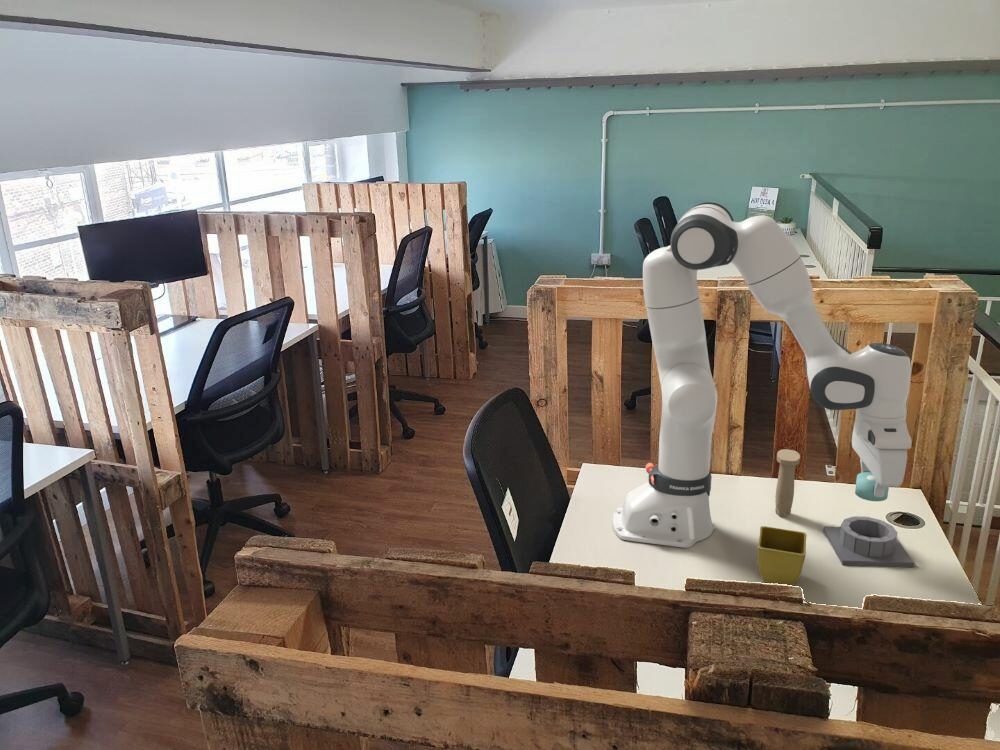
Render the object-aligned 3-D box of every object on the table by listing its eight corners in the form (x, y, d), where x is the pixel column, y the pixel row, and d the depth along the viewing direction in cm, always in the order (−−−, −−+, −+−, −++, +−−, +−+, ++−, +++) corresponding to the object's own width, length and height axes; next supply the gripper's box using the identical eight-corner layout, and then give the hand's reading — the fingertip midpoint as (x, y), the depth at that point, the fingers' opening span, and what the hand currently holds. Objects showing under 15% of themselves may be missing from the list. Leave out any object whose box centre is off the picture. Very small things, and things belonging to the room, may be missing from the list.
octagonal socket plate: (842, 564, 158) (844, 545, 157) (822, 530, 172) (824, 511, 170) (914, 566, 157) (917, 547, 155) (888, 531, 170) (891, 513, 169)
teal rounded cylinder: (860, 501, 155) (862, 484, 154) (851, 487, 161) (853, 471, 159) (891, 501, 154) (894, 484, 153) (881, 488, 160) (883, 471, 159)
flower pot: (801, 595, 149) (805, 554, 146) (754, 587, 152) (757, 547, 149) (802, 571, 157) (806, 532, 154) (757, 563, 160) (760, 525, 157)
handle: (771, 519, 177) (776, 459, 172) (772, 506, 183) (777, 448, 178) (793, 522, 175) (800, 462, 171) (793, 509, 181) (799, 450, 176)
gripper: (847, 405, 163) (841, 465, 167) (879, 444, 144) (871, 510, 148) (878, 405, 162) (871, 465, 166) (915, 444, 143) (906, 511, 147)
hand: (872, 487), depth 157 cm, fingers closed on teal rounded cylinder, 6 cm apart
